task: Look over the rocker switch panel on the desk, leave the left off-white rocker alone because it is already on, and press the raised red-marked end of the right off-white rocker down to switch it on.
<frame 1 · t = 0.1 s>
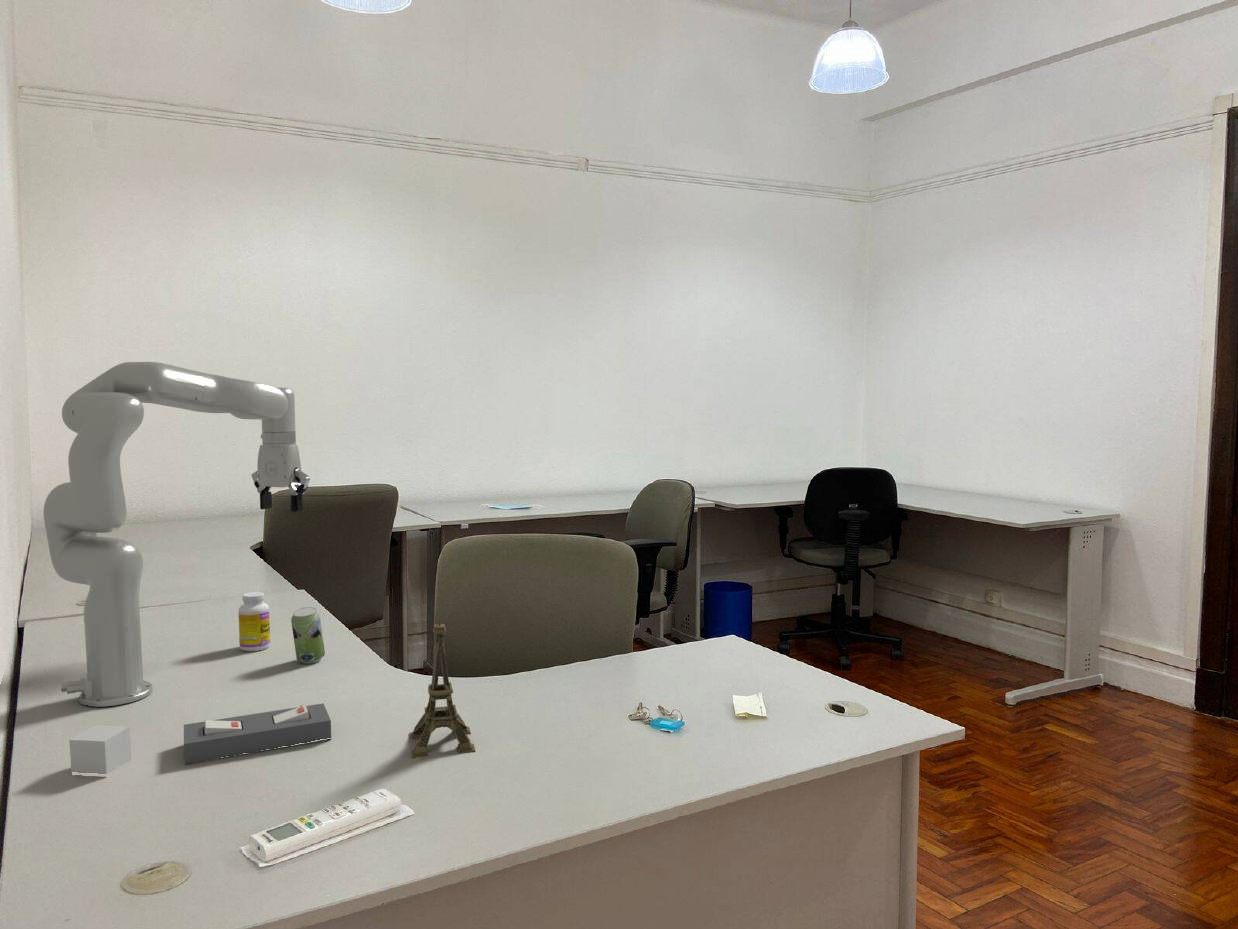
hand: (281, 509, 212), 31 cm above the table, tool pointing down, fingers open, 9 cm apart
right rocker: (291, 716, 155), point 4 cm above the table, hinge at -12.0°
supplement bottle: (255, 648, 206), on the table
rocker switch panel: (258, 742, 153), on the table
left rocker: (223, 727, 150), point 4 cm above the table, hinge at 12.0°
pale grey cube: (102, 770, 142), on the table
beverage can: (309, 662, 196), on the table
eiffel tower: (441, 744, 153), on the table
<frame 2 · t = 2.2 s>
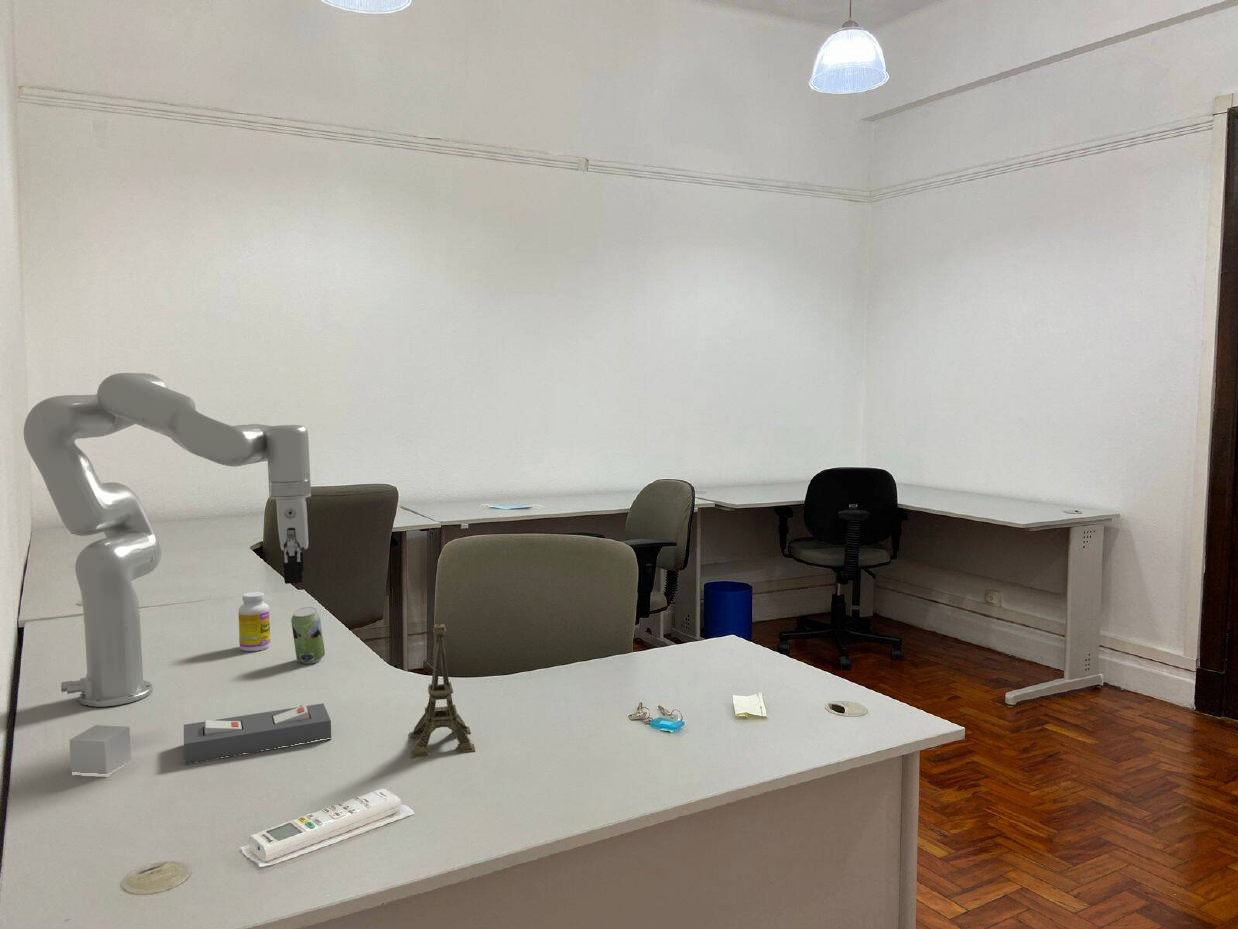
hand: (294, 577, 170), 25 cm above the table, tool pointing down, fingers open, 9 cm apart
nothing on the table moved.
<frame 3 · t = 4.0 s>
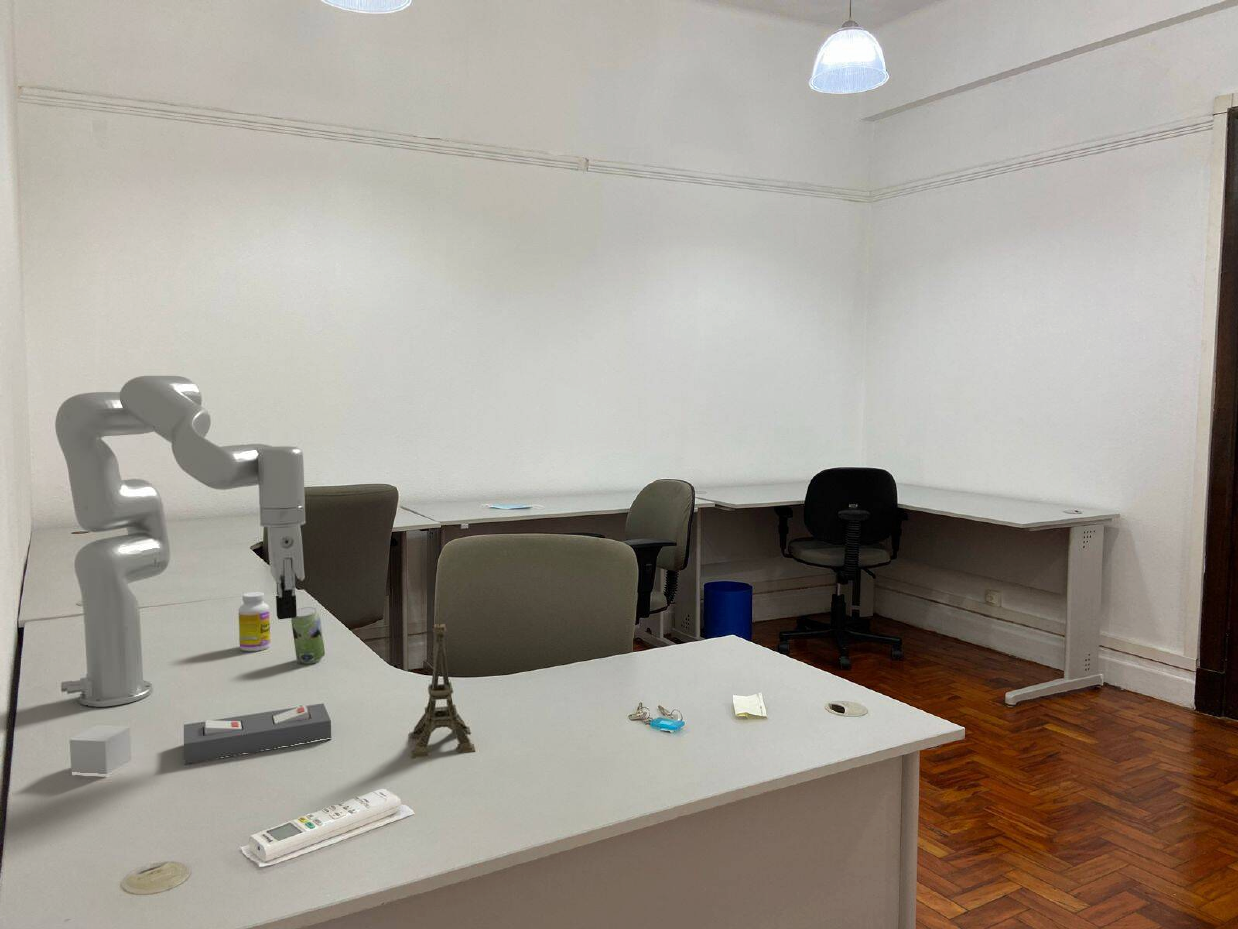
hand: (286, 617, 158), 20 cm above the table, tool pointing down, fingers closed
nothing on the table moved.
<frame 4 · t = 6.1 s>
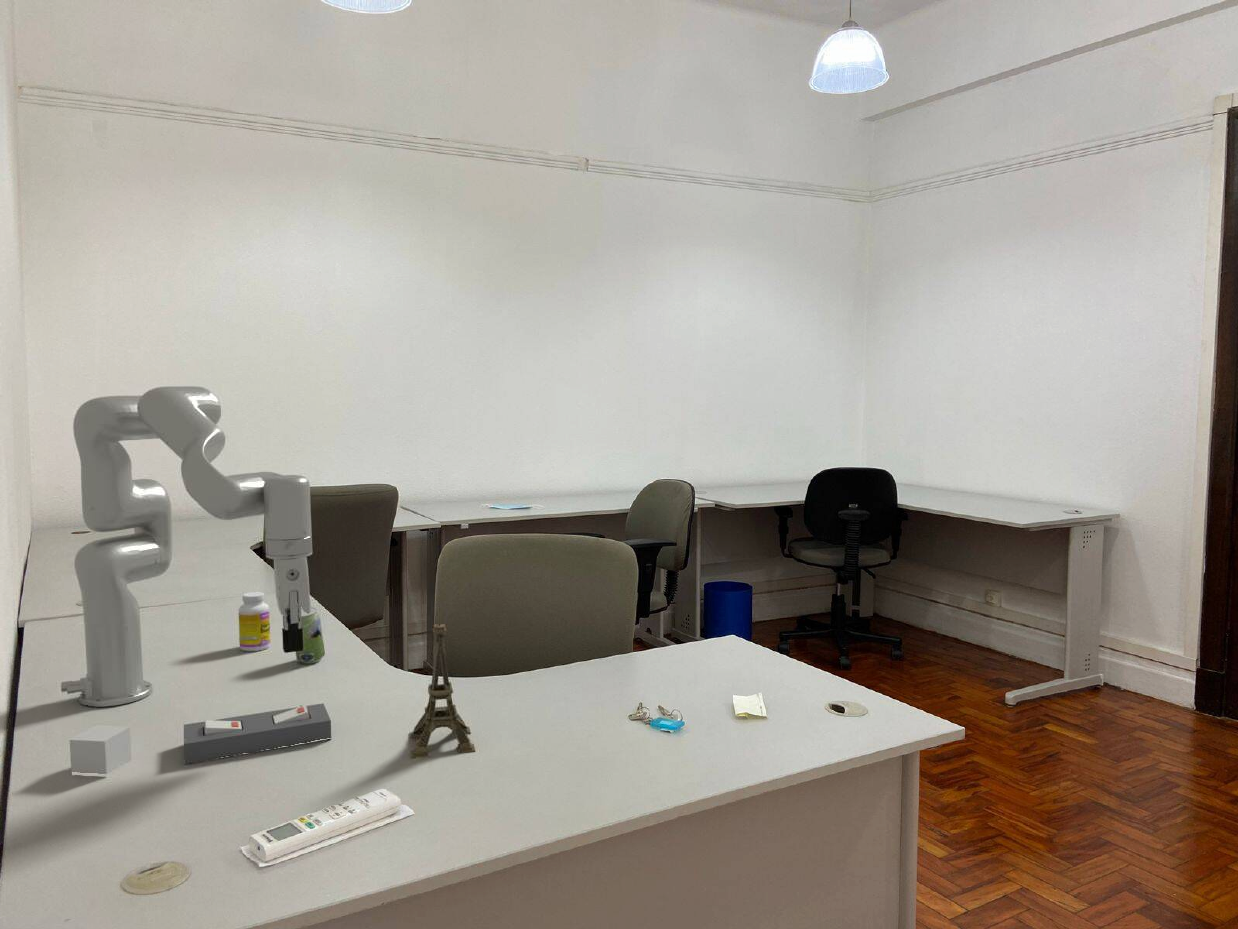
hand: (293, 650, 154), 16 cm above the table, tool pointing down, fingers closed
nothing on the table moved.
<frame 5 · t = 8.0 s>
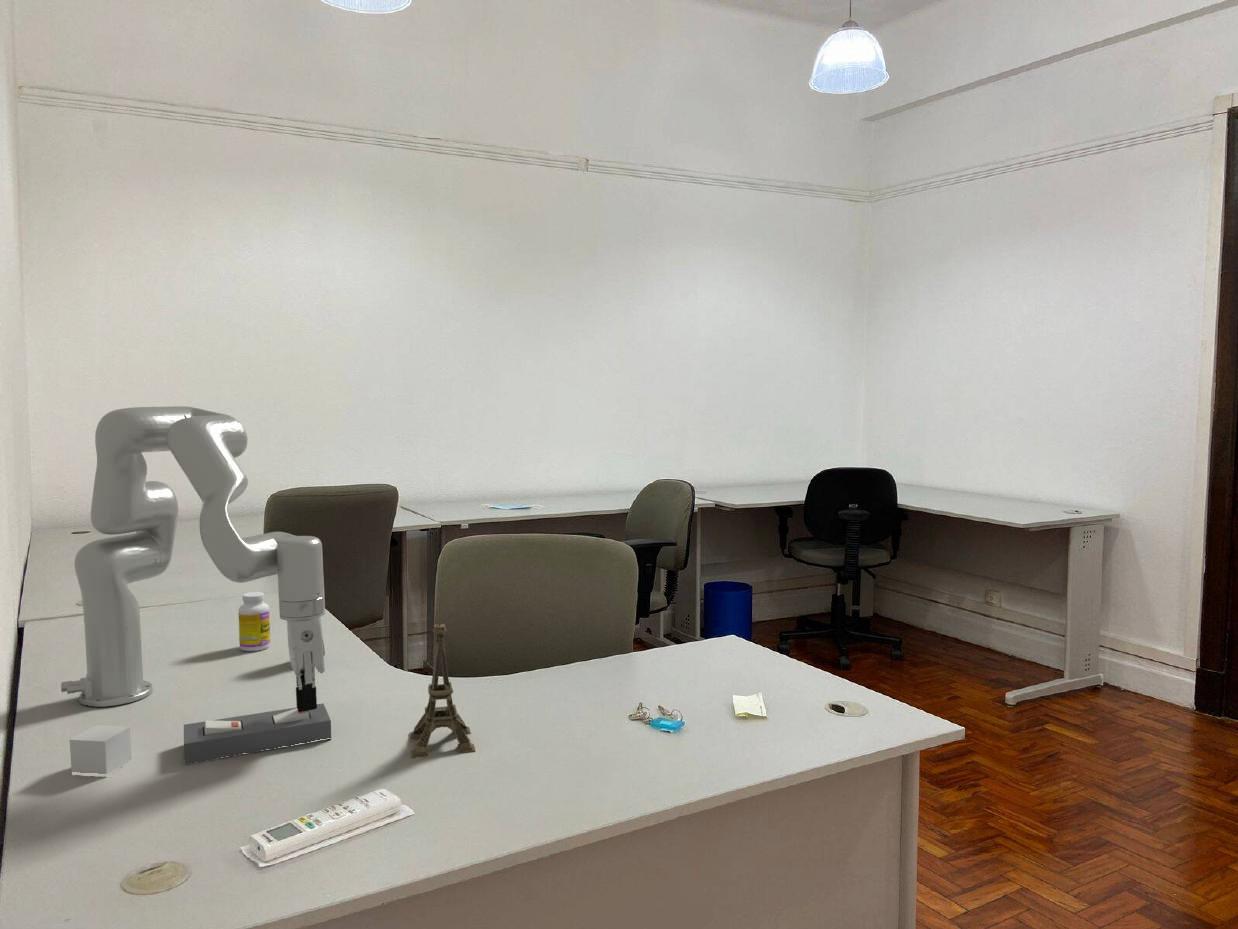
hand: (306, 708, 156), 5 cm above the table, tool pointing down, fingers closed
right rocker: (291, 716, 155), point 4 cm above the table, hinge at -10.6°, touching gripper
everything else where it was.
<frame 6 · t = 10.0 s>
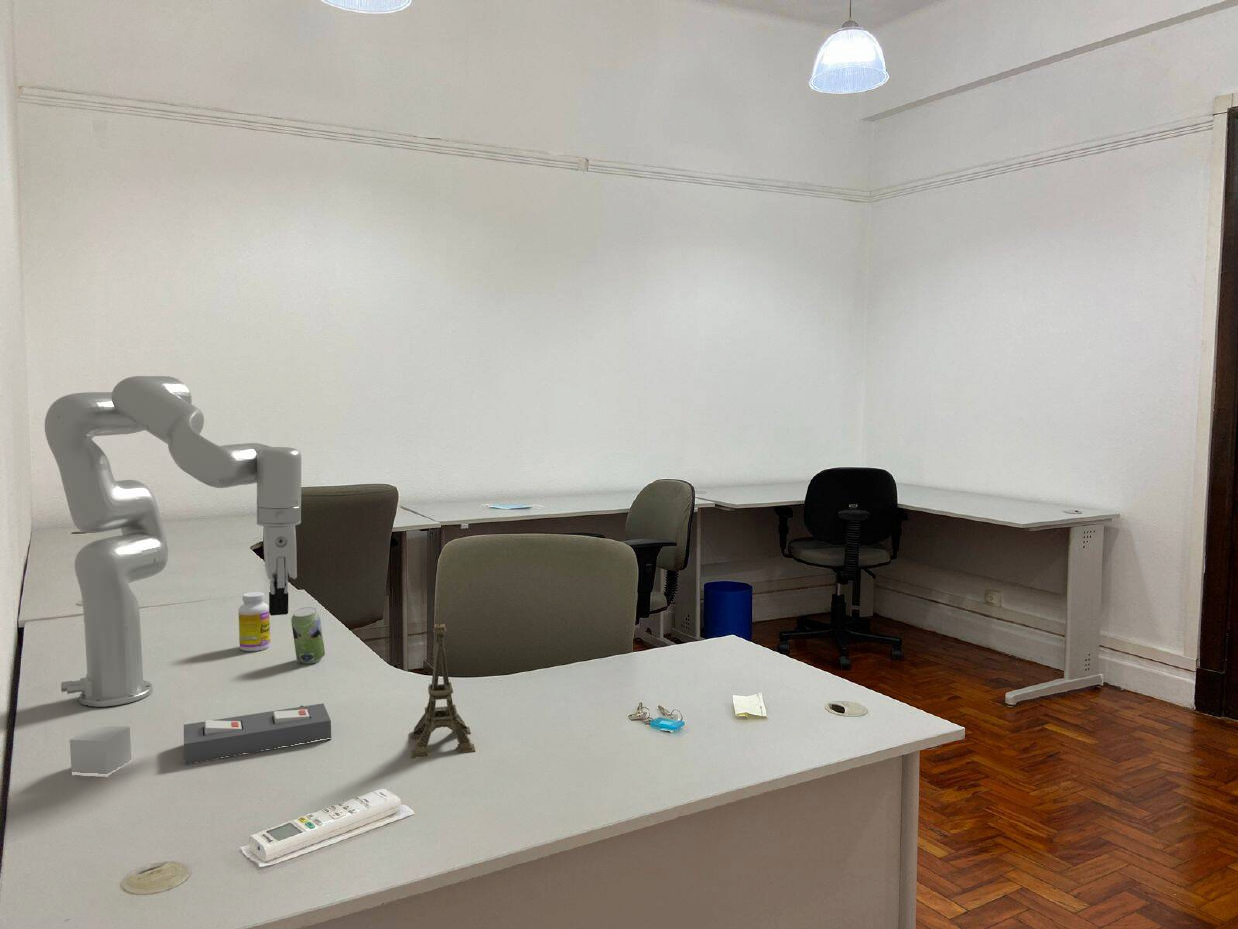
hand: (278, 613, 162), 20 cm above the table, tool pointing down, fingers closed
right rocker: (291, 716, 155), point 4 cm above the table, hinge at 5.5°
everything else where it was.
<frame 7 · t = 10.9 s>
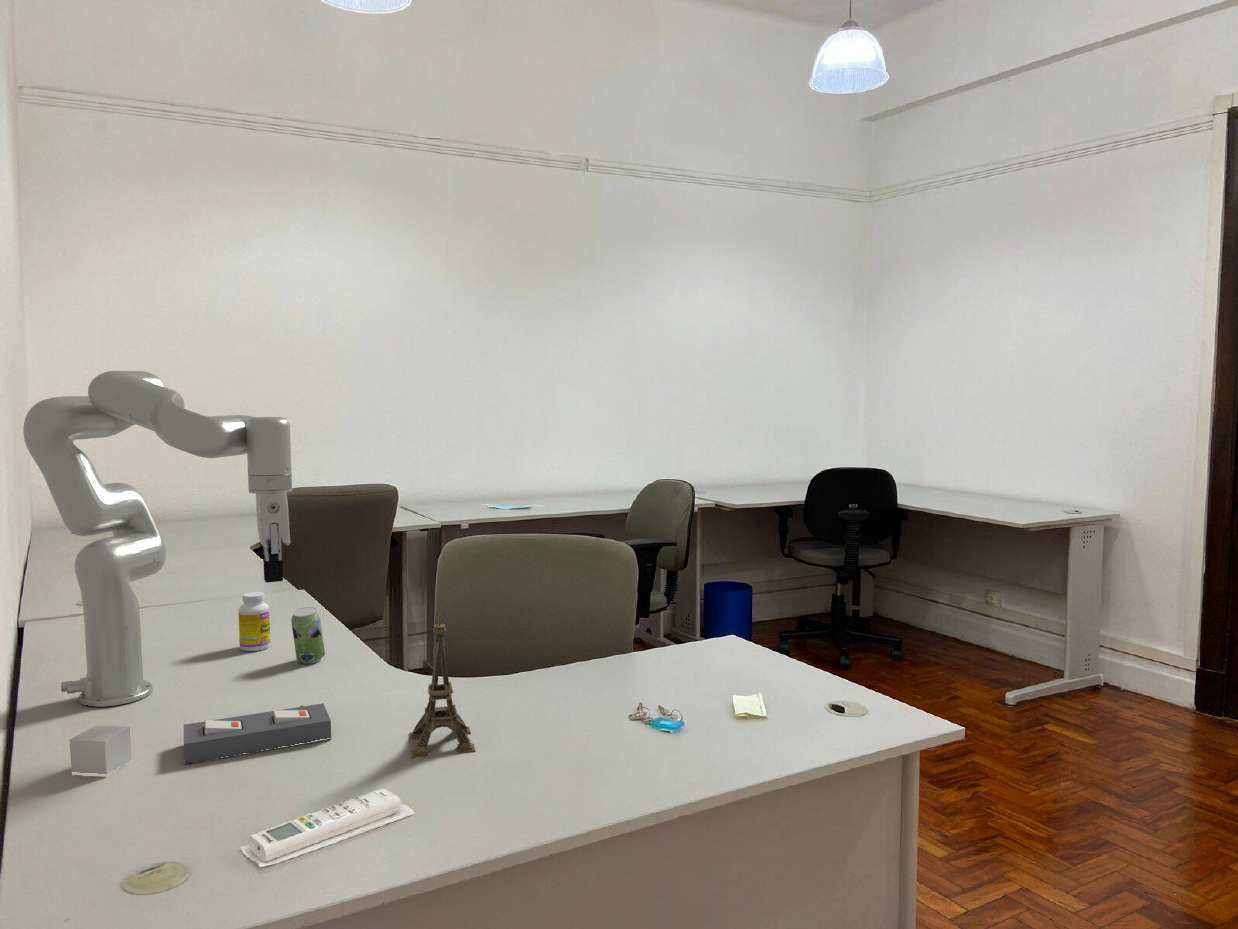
hand: (273, 580, 165), 25 cm above the table, tool pointing down, fingers closed
right rocker: (291, 716, 155), point 4 cm above the table, hinge at 9.4°
everything else where it was.
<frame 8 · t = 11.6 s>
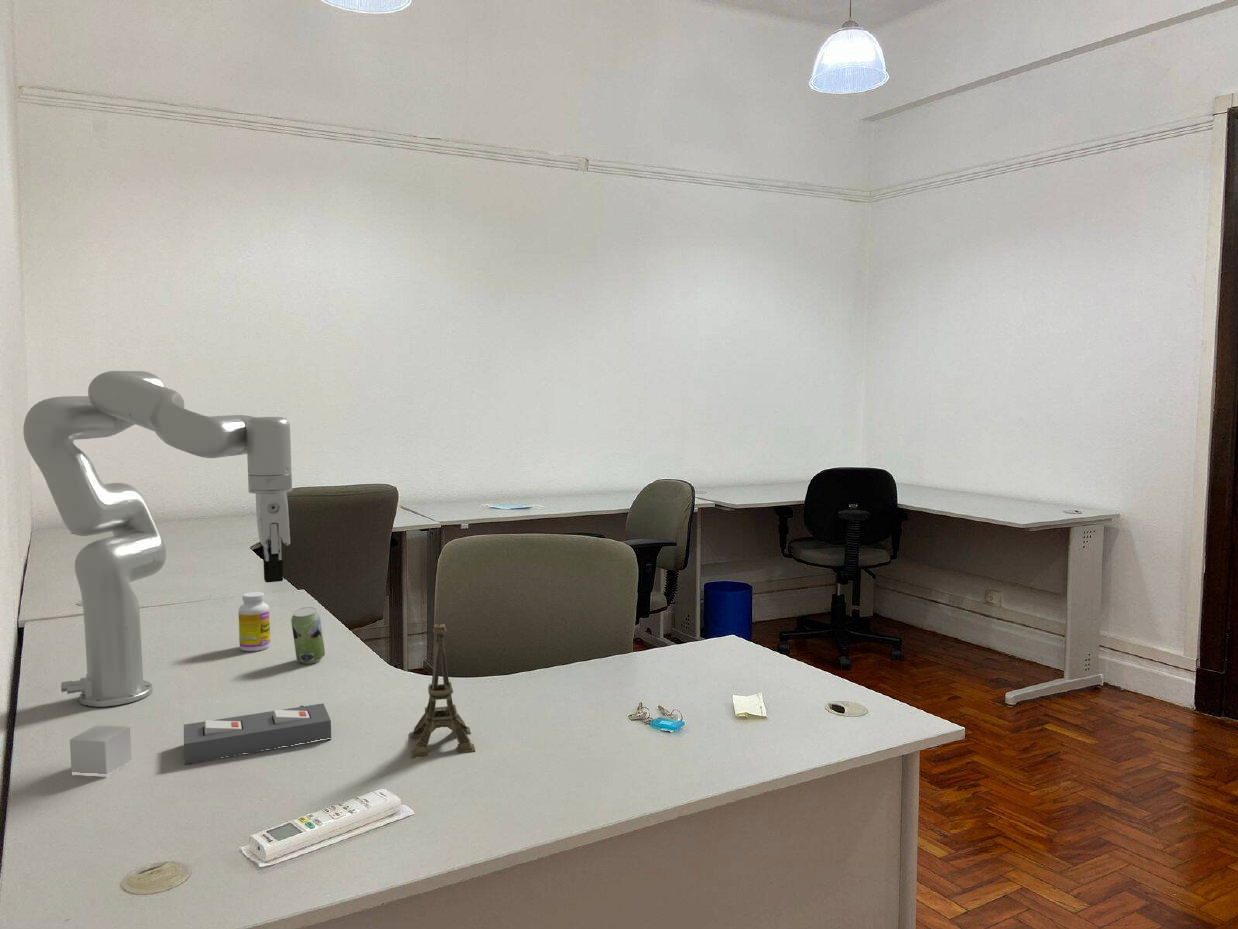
hand: (273, 580, 165), 25 cm above the table, tool pointing down, fingers closed
right rocker: (291, 716, 155), point 4 cm above the table, hinge at 11.6°
everything else where it was.
at the end: right rocker at +12° (first picture: -12°); left rocker at +12° (first picture: +12°) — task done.
